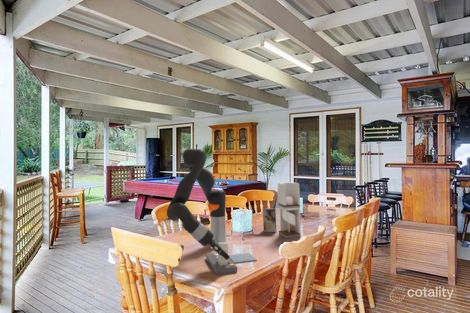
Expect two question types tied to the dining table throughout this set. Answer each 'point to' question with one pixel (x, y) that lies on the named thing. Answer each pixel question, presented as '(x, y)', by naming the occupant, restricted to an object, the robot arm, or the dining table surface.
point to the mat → (242, 258)
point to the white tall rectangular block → (221, 259)
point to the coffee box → (269, 219)
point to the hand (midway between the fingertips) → (226, 256)
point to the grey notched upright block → (289, 209)
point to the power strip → (220, 269)
